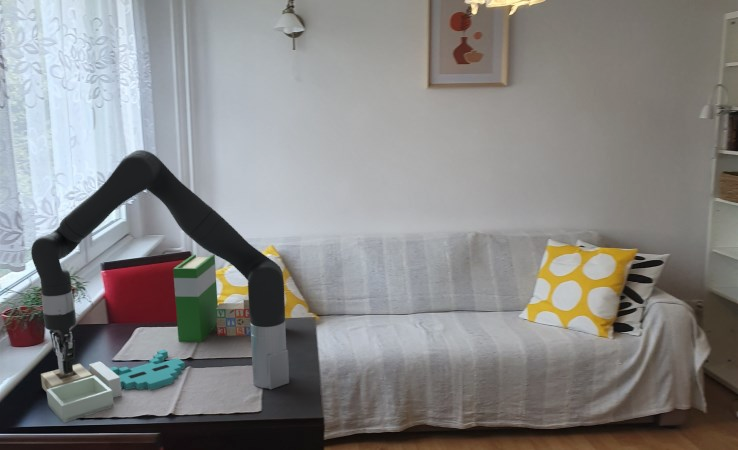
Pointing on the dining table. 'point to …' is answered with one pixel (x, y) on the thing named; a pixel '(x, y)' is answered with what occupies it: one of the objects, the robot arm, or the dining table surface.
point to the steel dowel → (62, 374)
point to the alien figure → (150, 373)
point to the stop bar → (106, 377)
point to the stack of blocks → (233, 318)
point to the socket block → (54, 380)
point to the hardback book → (195, 298)
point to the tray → (79, 398)
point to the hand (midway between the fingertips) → (66, 370)
